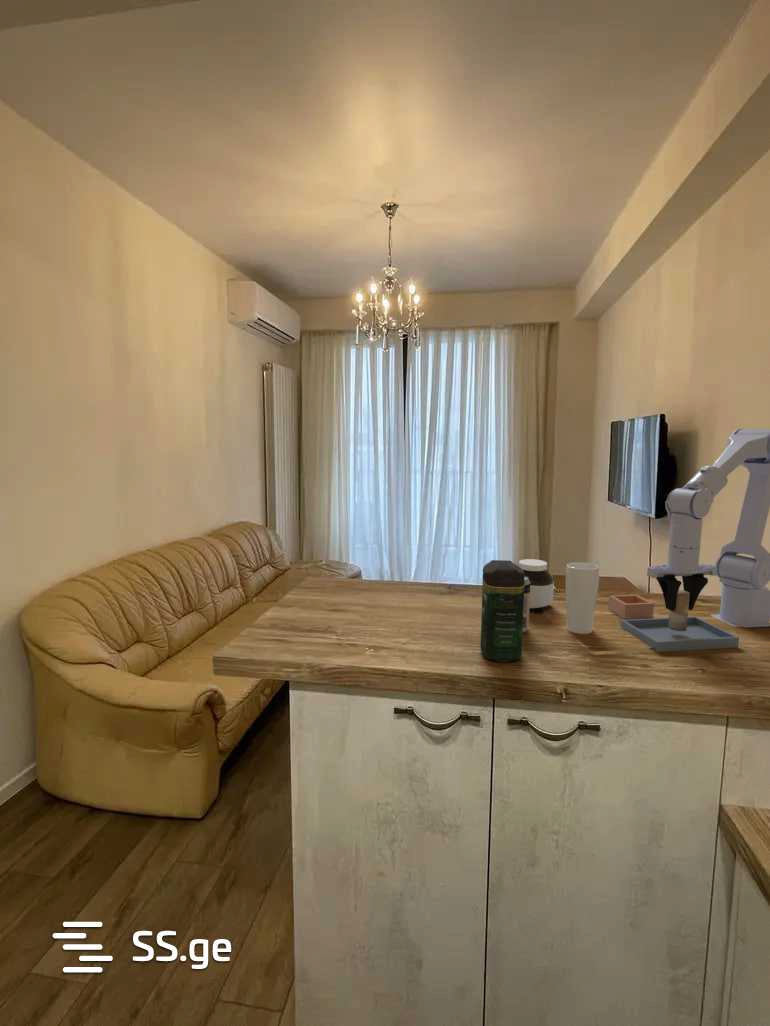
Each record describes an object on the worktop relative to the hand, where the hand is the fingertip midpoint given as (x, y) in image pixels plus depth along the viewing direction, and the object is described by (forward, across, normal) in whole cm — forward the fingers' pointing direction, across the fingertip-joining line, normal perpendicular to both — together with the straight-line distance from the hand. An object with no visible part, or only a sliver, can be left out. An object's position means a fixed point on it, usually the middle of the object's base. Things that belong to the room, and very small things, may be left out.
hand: (679, 609), depth 116 cm
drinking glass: (+7, +19, -6) cm, 21 cm away
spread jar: (+7, +25, -23) cm, 35 cm away
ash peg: (+4, 0, 0) cm, 4 cm away
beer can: (+7, +32, -9) cm, 34 cm away
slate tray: (+6, 0, 0) cm, 6 cm away
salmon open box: (+6, +2, -14) cm, 16 cm away
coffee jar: (+7, +40, +3) cm, 41 cm away
